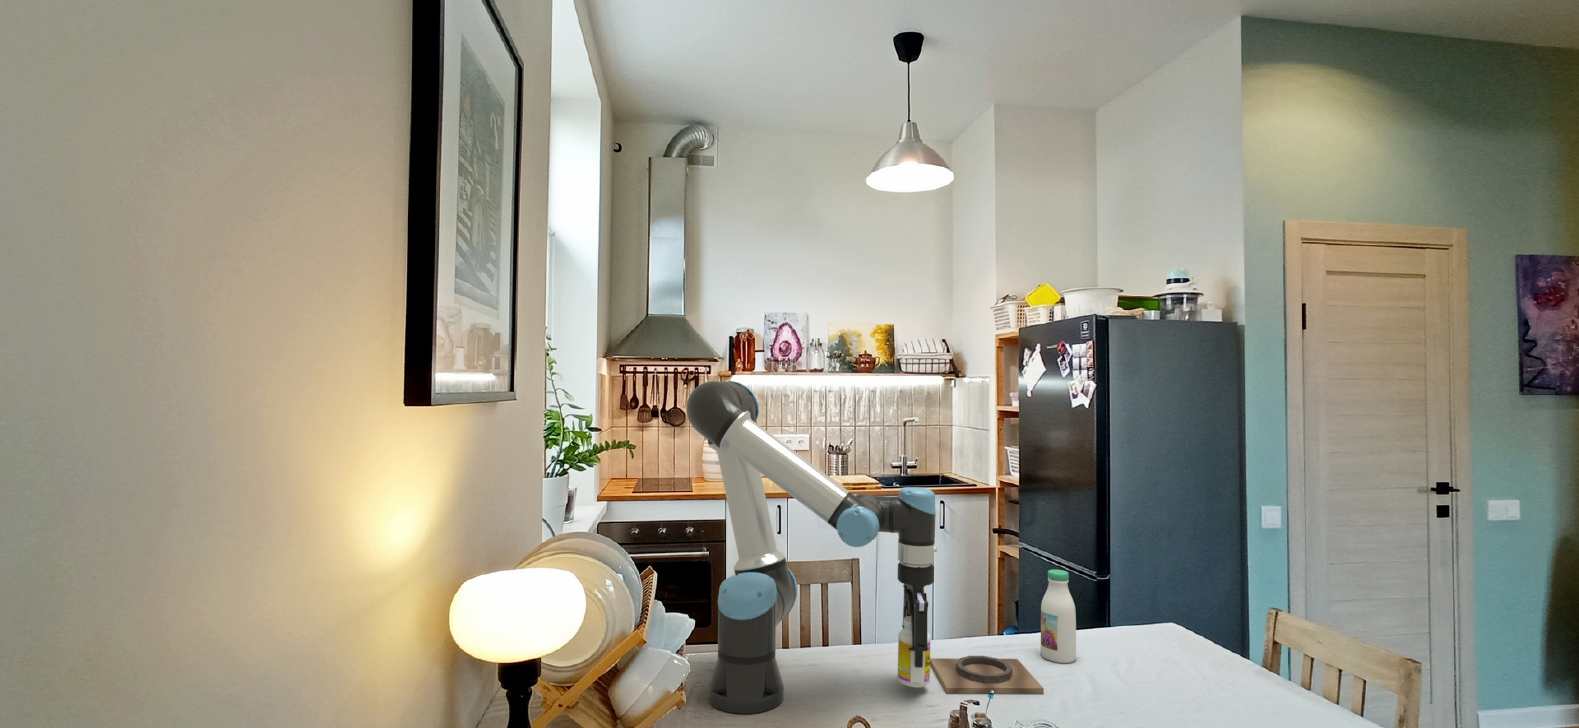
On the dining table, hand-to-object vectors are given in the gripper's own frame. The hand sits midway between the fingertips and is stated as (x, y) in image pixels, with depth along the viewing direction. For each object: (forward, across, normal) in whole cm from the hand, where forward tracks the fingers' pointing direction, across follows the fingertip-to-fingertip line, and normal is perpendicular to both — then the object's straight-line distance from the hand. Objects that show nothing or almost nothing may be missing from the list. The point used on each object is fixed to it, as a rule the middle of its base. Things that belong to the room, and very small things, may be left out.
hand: (913, 674), depth 149 cm
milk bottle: (+3, +18, -38) cm, 42 cm away
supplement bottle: (+2, 0, 0) cm, 2 cm away
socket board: (+3, +6, -16) cm, 18 cm away
